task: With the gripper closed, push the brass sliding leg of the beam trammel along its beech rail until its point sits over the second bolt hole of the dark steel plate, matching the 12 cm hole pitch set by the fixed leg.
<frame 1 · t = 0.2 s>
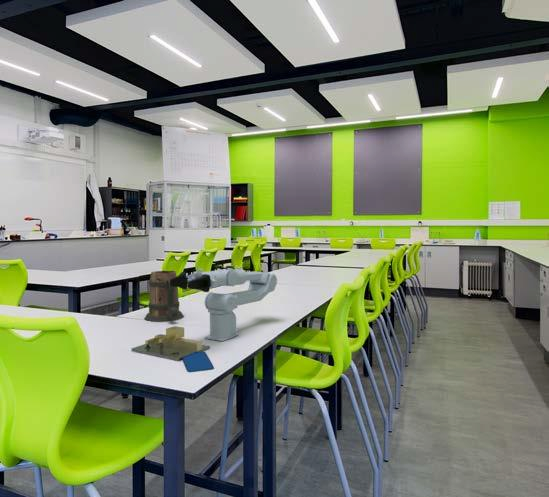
hand: (179, 283, 123), 21 cm above the table, tool horizontal, fingers open, 7 cm apart
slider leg: (170, 338, 127), point 4 cm above the table, slide at 0.0 cm
smartphone: (196, 364, 115), on the table
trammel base: (171, 349, 127), on the table
tankard: (166, 319, 170), on the table
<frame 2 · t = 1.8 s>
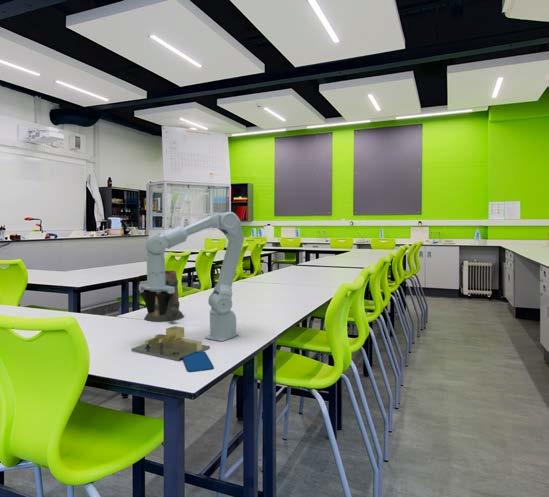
hand: (156, 313, 132), 10 cm above the table, tool pointing down, fingers open, 5 cm apart
nothing on the table moved.
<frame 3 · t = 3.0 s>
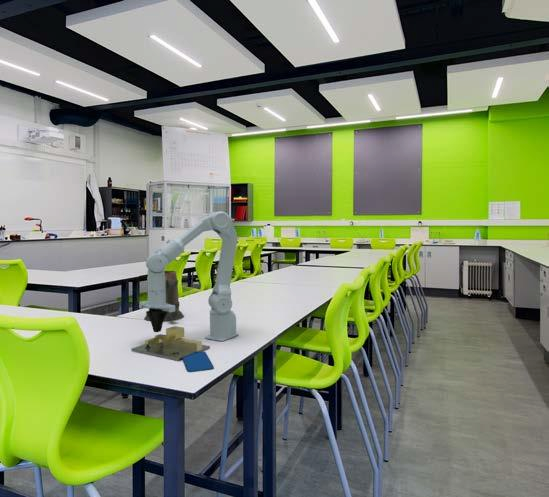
hand: (157, 331, 132), 4 cm above the table, tool pointing down, fingers closed
nothing on the table moved.
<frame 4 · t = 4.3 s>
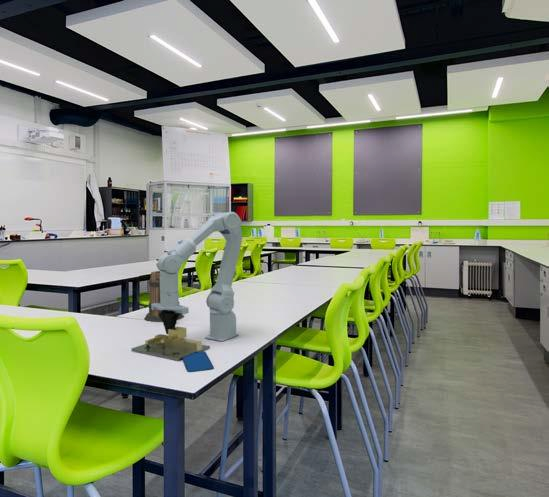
hand: (170, 333, 130), 4 cm above the table, tool pointing down, fingers closed
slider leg: (172, 338, 126), point 4 cm above the table, slide at 1.0 cm, touching gripper
everything else where it was.
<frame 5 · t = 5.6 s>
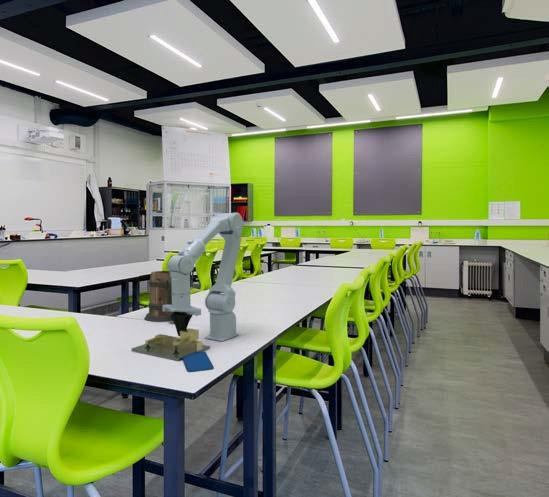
hand: (181, 335, 127), 4 cm above the table, tool pointing down, fingers closed
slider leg: (184, 340, 124), point 4 cm above the table, slide at 6.0 cm, touching gripper
everything else where it was.
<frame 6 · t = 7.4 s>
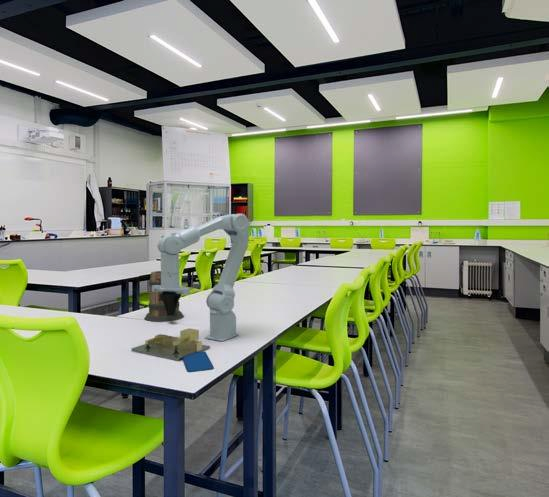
hand: (170, 315, 130), 10 cm above the table, tool pointing down, fingers closed
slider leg: (184, 340, 124), point 4 cm above the table, slide at 6.0 cm
everything else where it was.
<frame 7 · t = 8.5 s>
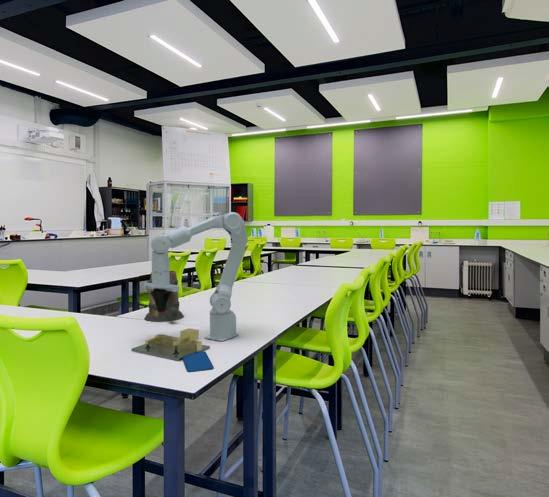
hand: (161, 311, 135), 10 cm above the table, tool pointing down, fingers closed
nothing on the table moved.
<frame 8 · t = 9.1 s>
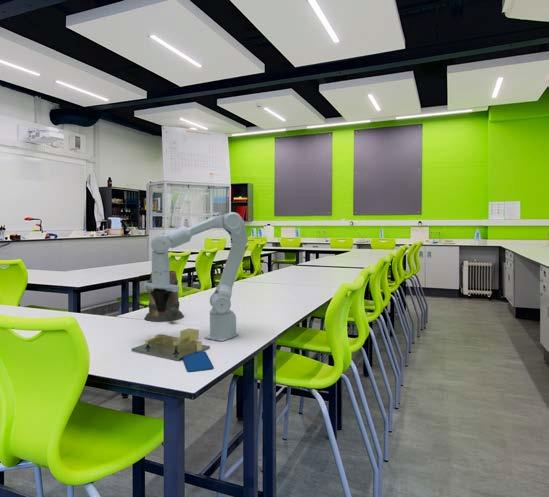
hand: (161, 311, 135), 10 cm above the table, tool pointing down, fingers closed
nothing on the table moved.
at the end: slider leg slide at 6.0 cm; the gripper is holding nothing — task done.
